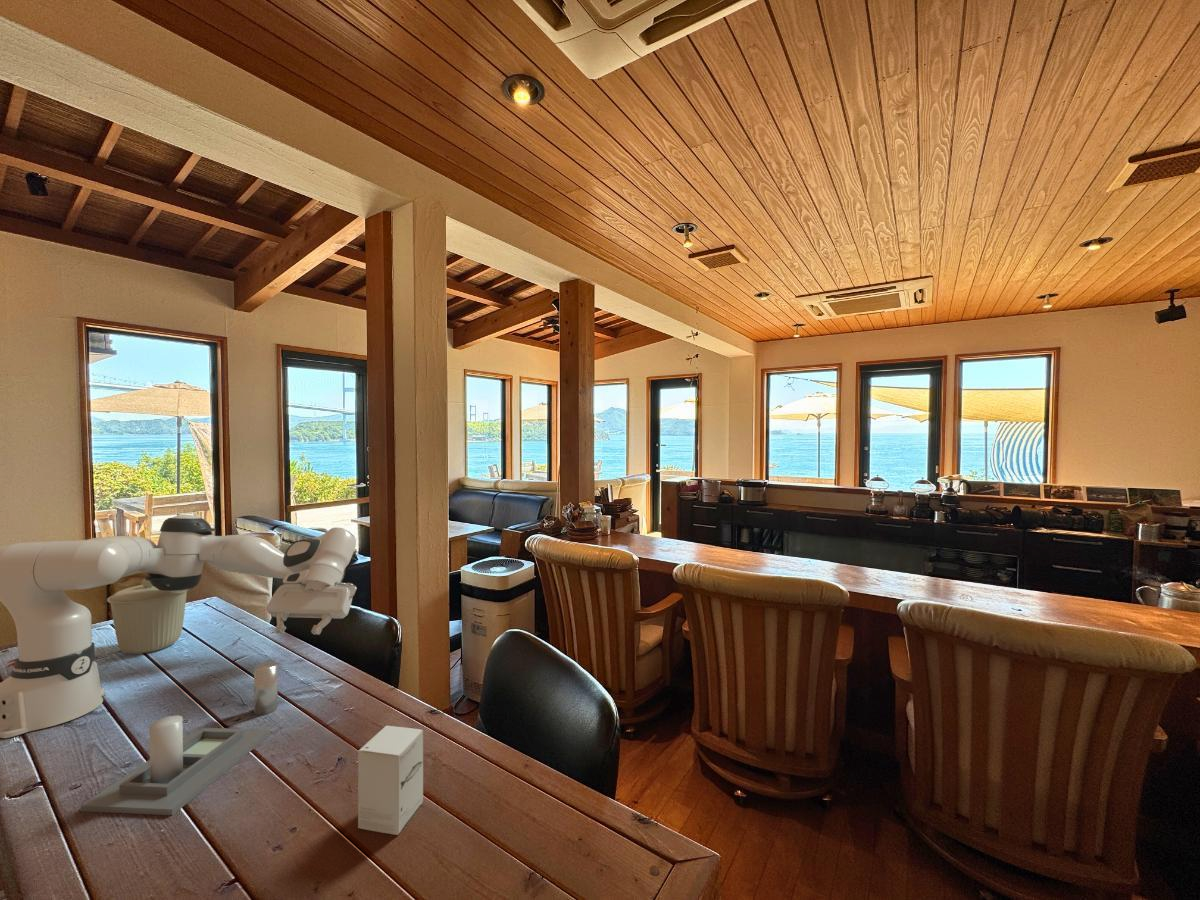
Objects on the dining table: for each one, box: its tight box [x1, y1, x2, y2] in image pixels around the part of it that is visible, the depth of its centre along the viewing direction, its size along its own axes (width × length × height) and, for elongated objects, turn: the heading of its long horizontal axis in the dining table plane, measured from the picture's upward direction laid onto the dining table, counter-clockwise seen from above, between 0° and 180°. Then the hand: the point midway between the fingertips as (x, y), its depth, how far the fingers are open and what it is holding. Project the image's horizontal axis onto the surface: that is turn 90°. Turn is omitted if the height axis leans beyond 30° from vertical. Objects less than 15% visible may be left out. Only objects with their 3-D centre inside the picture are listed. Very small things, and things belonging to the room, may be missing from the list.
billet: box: [253, 661, 279, 716], centre depth 111 cm, size 4×4×10 cm
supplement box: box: [357, 725, 424, 836], centre depth 79 cm, size 7×7×13 cm
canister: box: [106, 578, 190, 655], centre depth 145 cm, size 18×18×21 cm
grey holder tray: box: [80, 715, 272, 816], centre depth 91 cm, size 16×22×11 cm
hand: (296, 633), depth 121 cm, fingers open, 8 cm apart
